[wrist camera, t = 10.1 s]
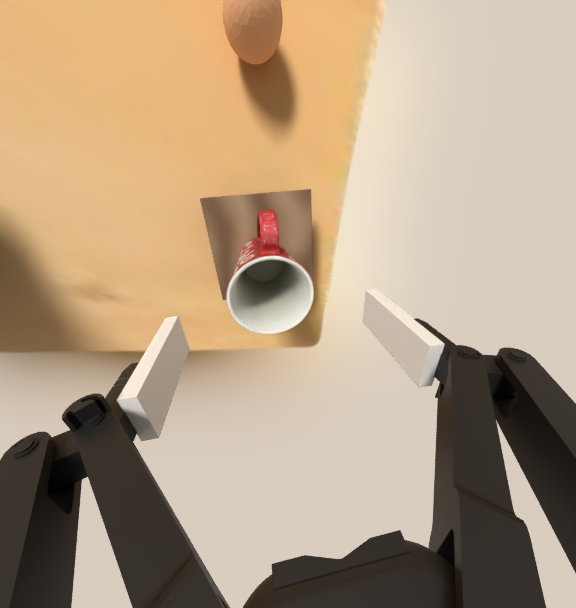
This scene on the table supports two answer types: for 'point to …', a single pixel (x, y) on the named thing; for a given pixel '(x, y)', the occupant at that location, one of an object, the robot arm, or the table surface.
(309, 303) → the mug
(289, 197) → the stool
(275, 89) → the table surface
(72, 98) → the table surface
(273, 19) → the egg
